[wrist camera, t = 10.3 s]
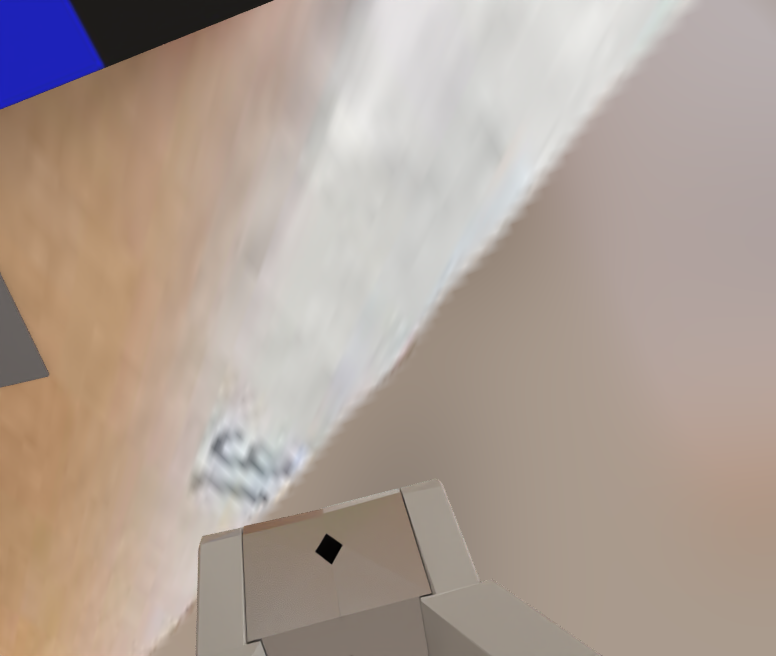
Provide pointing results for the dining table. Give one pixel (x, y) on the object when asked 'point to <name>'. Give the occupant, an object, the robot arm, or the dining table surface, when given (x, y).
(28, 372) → the mark
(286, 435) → the dining table surface
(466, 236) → the dining table surface
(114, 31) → the puzzle toy
